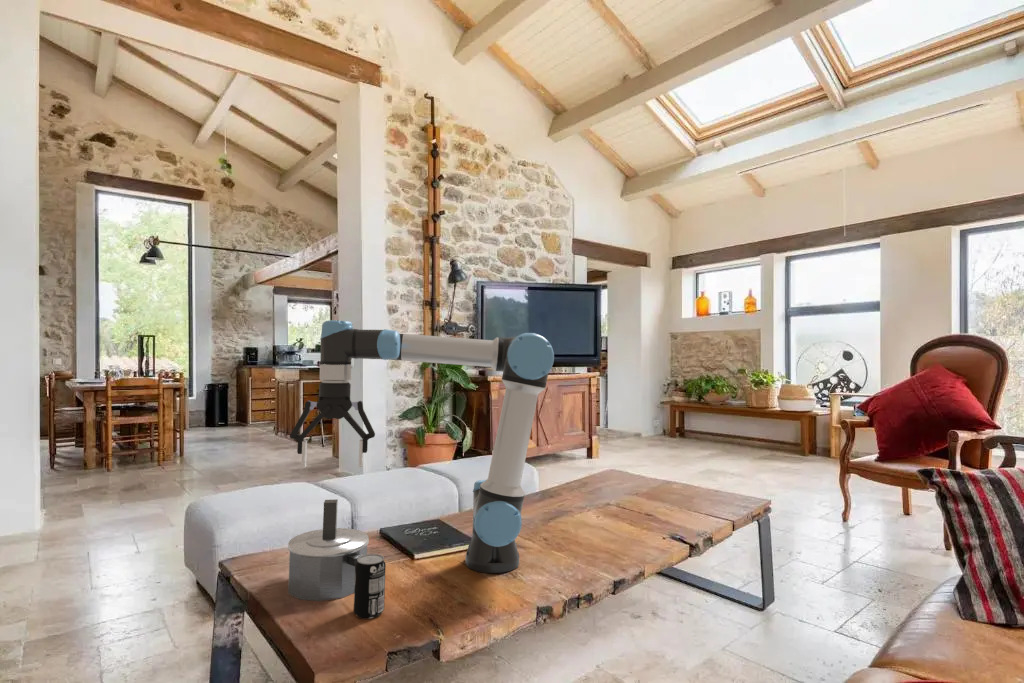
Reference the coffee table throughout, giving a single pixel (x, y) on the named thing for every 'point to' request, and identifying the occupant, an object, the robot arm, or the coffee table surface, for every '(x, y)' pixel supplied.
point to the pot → (323, 576)
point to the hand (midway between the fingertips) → (332, 466)
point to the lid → (328, 538)
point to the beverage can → (369, 586)
